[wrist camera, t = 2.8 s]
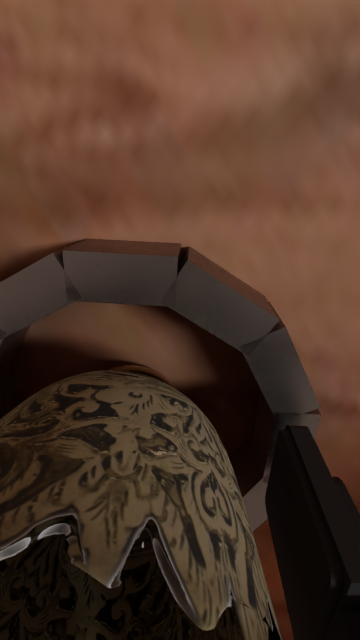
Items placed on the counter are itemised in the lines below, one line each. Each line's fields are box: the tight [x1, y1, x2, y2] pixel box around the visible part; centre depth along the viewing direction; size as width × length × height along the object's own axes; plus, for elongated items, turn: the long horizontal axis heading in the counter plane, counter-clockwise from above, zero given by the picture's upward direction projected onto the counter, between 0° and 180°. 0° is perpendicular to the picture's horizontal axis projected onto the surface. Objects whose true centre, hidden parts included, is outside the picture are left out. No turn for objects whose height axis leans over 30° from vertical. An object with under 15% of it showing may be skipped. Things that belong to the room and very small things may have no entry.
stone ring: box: [0, 239, 321, 532], centre depth 11 cm, size 12×12×2 cm
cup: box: [0, 365, 282, 640], centre depth 8 cm, size 8×7×8 cm
